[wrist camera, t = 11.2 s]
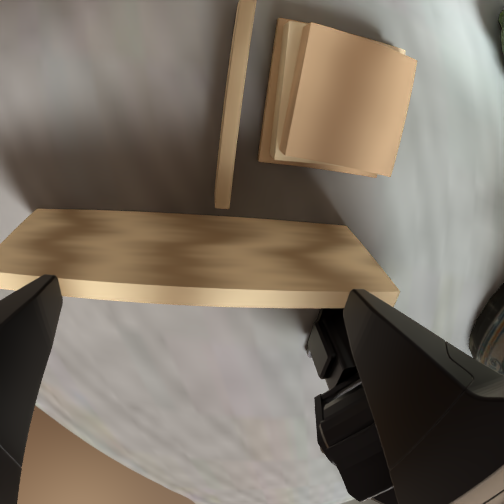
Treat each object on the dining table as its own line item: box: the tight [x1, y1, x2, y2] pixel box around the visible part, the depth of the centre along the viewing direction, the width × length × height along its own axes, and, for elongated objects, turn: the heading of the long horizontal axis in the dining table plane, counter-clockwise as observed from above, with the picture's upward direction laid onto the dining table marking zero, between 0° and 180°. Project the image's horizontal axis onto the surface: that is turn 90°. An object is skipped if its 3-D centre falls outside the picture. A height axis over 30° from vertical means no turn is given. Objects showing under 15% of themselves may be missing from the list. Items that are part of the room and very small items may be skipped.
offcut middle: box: [270, 21, 406, 167], centre depth 17 cm, size 7×8×2 cm
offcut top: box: [279, 22, 417, 177], centre depth 15 cm, size 6×7×2 cm
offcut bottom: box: [258, 18, 377, 178], centre depth 18 cm, size 8×9×2 cm
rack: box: [0, 0, 400, 308], centre depth 14 cm, size 22×14×8 cm, turn 83°
